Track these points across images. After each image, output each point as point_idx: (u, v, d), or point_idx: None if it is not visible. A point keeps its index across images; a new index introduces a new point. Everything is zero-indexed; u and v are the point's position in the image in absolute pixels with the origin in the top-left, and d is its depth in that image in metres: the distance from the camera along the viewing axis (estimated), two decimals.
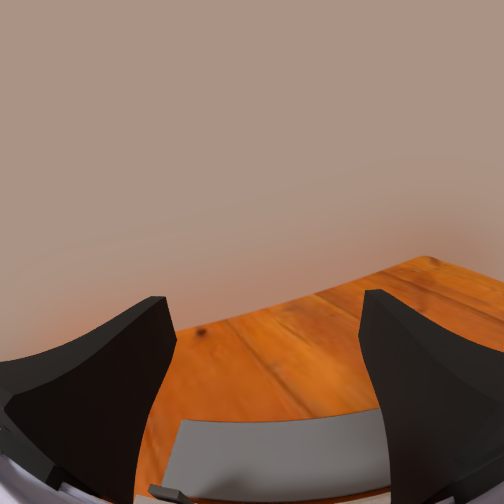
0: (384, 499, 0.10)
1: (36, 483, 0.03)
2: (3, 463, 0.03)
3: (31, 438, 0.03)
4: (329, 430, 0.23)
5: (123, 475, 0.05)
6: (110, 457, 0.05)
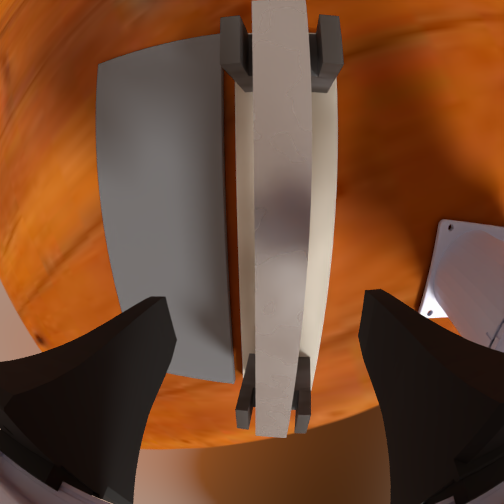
0: (258, 173, 0.10)
1: (36, 483, 0.03)
2: (3, 463, 0.03)
3: (31, 438, 0.03)
4: (118, 203, 0.19)
5: (123, 475, 0.05)
6: (110, 457, 0.05)
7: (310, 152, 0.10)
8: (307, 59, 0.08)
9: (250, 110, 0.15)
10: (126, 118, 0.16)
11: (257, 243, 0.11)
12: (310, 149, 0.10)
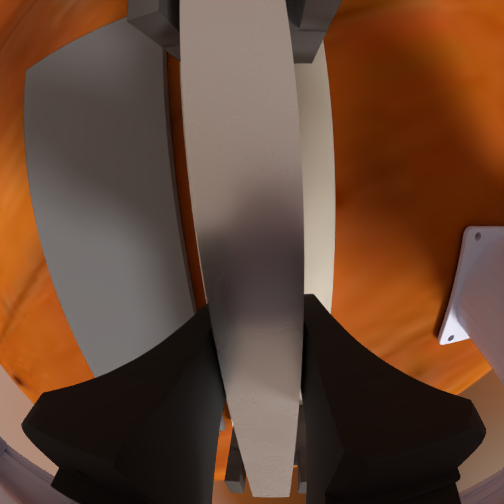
0: (201, 201, 0.05)
1: (36, 483, 0.03)
2: (3, 463, 0.03)
3: (142, 487, 0.02)
4: (57, 239, 0.13)
5: (205, 494, 0.05)
6: (198, 478, 0.04)
7: (298, 151, 0.05)
8: None
9: None
10: (54, 131, 0.11)
11: (215, 320, 0.06)
12: (297, 146, 0.05)
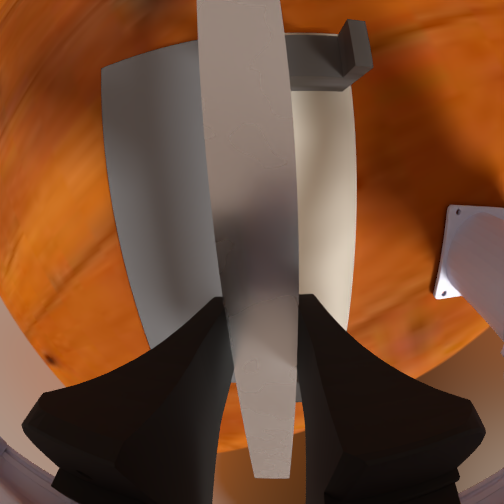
0: (216, 189, 0.07)
1: (36, 483, 0.03)
2: (3, 463, 0.03)
3: (142, 487, 0.02)
4: (134, 211, 0.18)
5: (206, 494, 0.05)
6: (199, 479, 0.04)
7: (292, 150, 0.06)
8: (277, 15, 0.05)
9: None
10: (137, 123, 0.16)
11: (225, 289, 0.08)
12: (292, 146, 0.06)
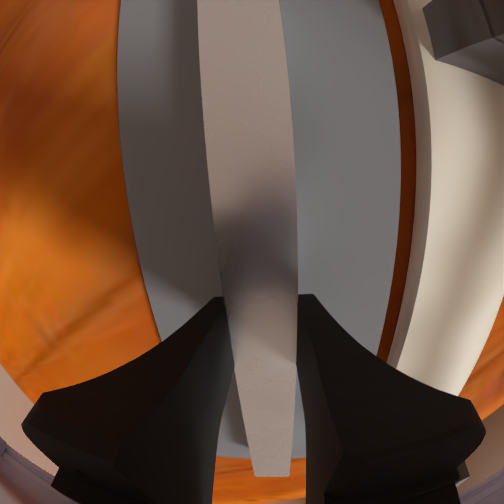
0: (217, 189, 0.07)
1: (36, 483, 0.03)
2: (3, 463, 0.03)
3: (142, 487, 0.02)
4: (179, 246, 0.10)
5: (206, 494, 0.05)
6: (199, 479, 0.04)
7: (291, 151, 0.06)
8: (277, 18, 0.05)
9: (446, 91, 0.06)
10: (192, 73, 0.08)
11: (225, 287, 0.08)
12: (291, 146, 0.06)
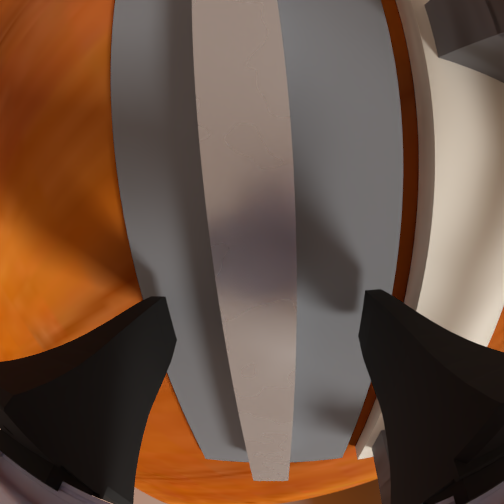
0: (211, 191, 0.07)
1: (36, 483, 0.03)
2: (3, 463, 0.03)
3: (31, 438, 0.03)
4: (174, 250, 0.10)
5: (123, 475, 0.05)
6: (110, 457, 0.05)
7: (290, 151, 0.06)
8: (274, 12, 0.05)
9: (449, 89, 0.06)
10: (187, 71, 0.07)
11: (221, 293, 0.08)
12: (289, 146, 0.06)
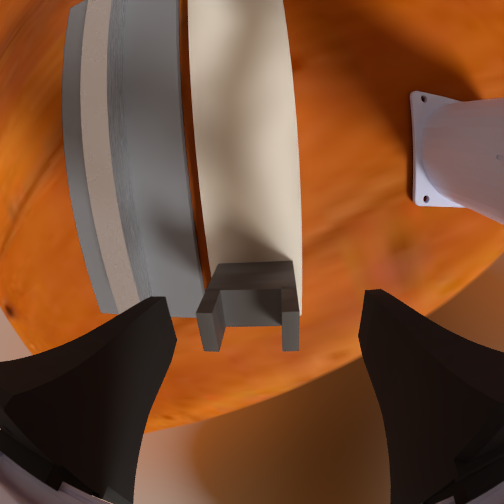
0: (82, 74, 0.12)
1: (36, 483, 0.03)
2: (3, 463, 0.03)
3: (31, 438, 0.03)
4: (78, 115, 0.15)
5: (123, 475, 0.05)
6: (110, 457, 0.05)
7: (106, 53, 0.12)
8: (108, 10, 0.10)
9: (201, 7, 0.12)
10: None
11: (82, 113, 0.13)
12: (106, 52, 0.12)
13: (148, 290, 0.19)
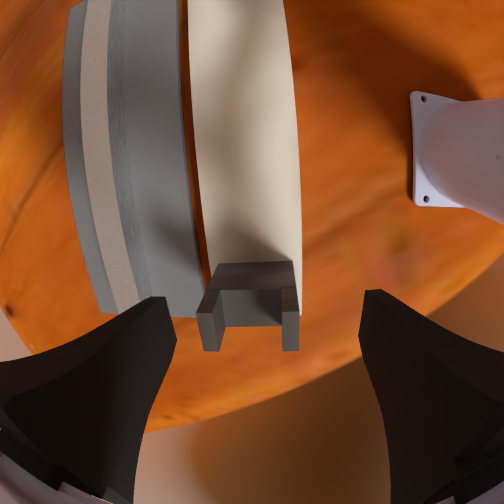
0: (82, 74, 0.12)
1: (36, 483, 0.03)
2: (3, 463, 0.03)
3: (31, 438, 0.03)
4: (78, 115, 0.15)
5: (123, 475, 0.05)
6: (110, 457, 0.05)
7: (106, 53, 0.12)
8: (109, 10, 0.10)
9: (201, 7, 0.12)
10: None
11: (82, 113, 0.13)
12: (106, 52, 0.12)
13: (148, 290, 0.19)
